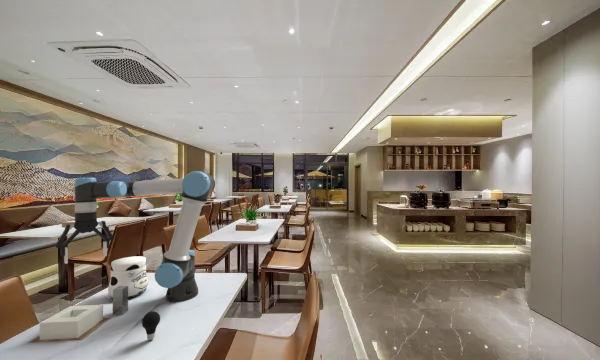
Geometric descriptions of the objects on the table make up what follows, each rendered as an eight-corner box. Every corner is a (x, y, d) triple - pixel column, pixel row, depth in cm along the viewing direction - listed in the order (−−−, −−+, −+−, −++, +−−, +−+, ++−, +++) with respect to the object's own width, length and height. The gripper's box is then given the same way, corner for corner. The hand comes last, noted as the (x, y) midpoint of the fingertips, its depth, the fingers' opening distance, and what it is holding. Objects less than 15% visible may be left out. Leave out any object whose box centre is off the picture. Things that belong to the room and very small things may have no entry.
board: (111, 320, 106) (111, 317, 106) (81, 343, 90) (81, 340, 90) (66, 322, 105) (66, 319, 105) (27, 346, 89) (27, 342, 89)
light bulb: (146, 335, 95) (146, 308, 95) (163, 334, 95) (163, 307, 95) (138, 345, 89) (138, 316, 89) (155, 344, 89) (155, 315, 90)
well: (103, 319, 105) (103, 304, 105) (77, 338, 92) (77, 321, 92) (69, 321, 104) (70, 306, 104) (39, 339, 91) (39, 322, 91)
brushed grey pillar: (128, 313, 112) (128, 285, 113) (122, 317, 108) (122, 289, 109) (118, 313, 112) (118, 286, 113) (112, 318, 108) (112, 289, 109)
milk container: (148, 296, 130) (148, 261, 131) (106, 305, 121) (106, 267, 121) (147, 285, 145) (147, 254, 145) (109, 292, 135) (110, 258, 136)
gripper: (116, 209, 126) (116, 252, 125) (45, 214, 107) (46, 265, 106) (121, 209, 121) (121, 254, 121) (48, 215, 102) (48, 268, 101)
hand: (86, 259), depth 113 cm, fingers open, 13 cm apart
